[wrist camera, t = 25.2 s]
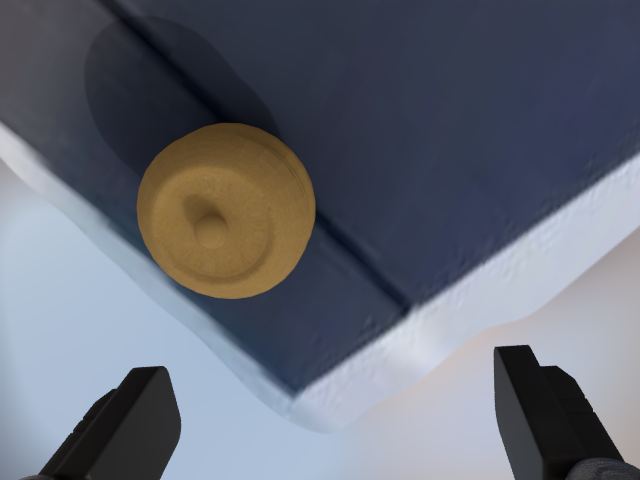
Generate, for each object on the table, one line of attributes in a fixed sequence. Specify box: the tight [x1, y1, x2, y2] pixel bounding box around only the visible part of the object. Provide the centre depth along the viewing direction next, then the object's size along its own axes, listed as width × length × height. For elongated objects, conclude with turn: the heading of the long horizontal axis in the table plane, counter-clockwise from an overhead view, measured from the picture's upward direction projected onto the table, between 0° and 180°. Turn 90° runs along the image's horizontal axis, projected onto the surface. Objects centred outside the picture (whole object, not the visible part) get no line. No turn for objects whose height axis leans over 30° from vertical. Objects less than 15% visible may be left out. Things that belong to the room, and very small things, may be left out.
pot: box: [137, 123, 315, 299], centre depth 36 cm, size 12×12×10 cm
